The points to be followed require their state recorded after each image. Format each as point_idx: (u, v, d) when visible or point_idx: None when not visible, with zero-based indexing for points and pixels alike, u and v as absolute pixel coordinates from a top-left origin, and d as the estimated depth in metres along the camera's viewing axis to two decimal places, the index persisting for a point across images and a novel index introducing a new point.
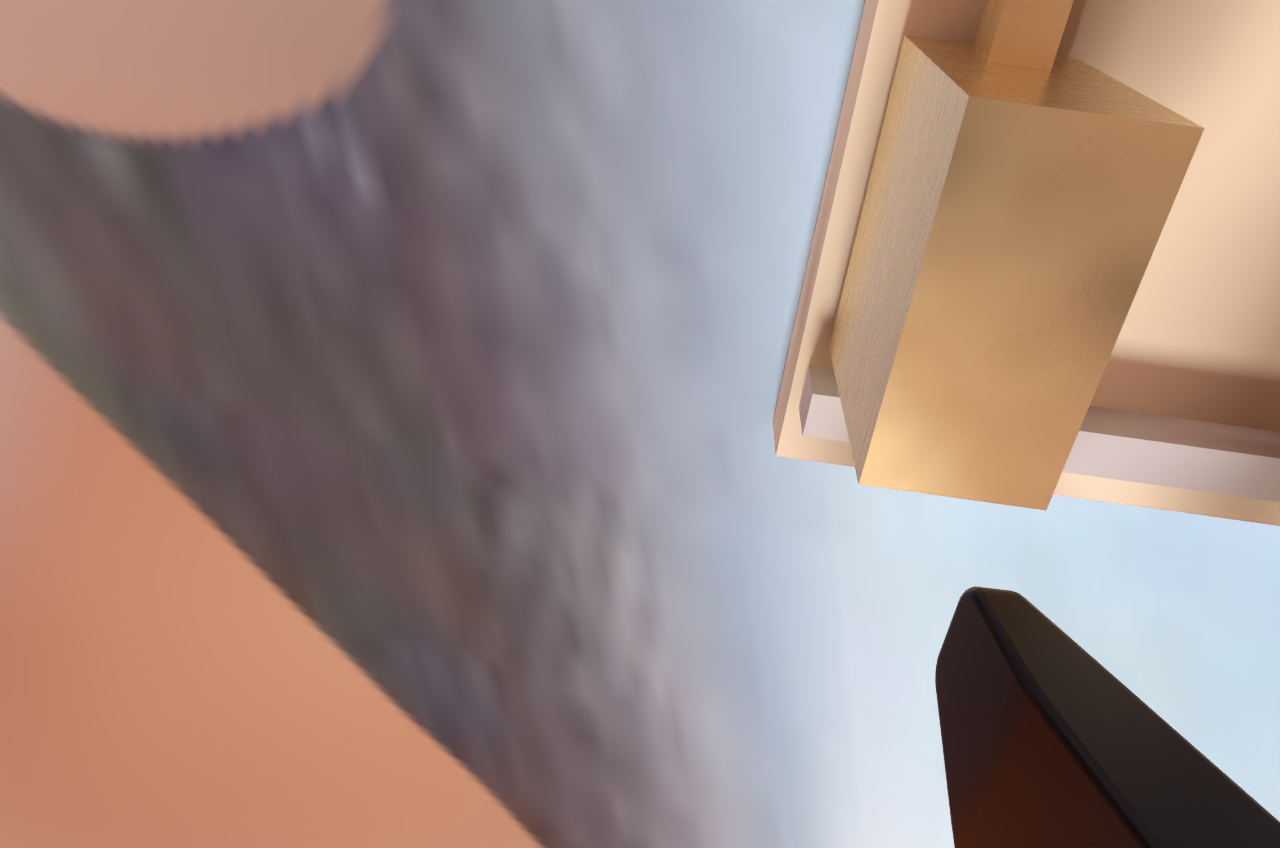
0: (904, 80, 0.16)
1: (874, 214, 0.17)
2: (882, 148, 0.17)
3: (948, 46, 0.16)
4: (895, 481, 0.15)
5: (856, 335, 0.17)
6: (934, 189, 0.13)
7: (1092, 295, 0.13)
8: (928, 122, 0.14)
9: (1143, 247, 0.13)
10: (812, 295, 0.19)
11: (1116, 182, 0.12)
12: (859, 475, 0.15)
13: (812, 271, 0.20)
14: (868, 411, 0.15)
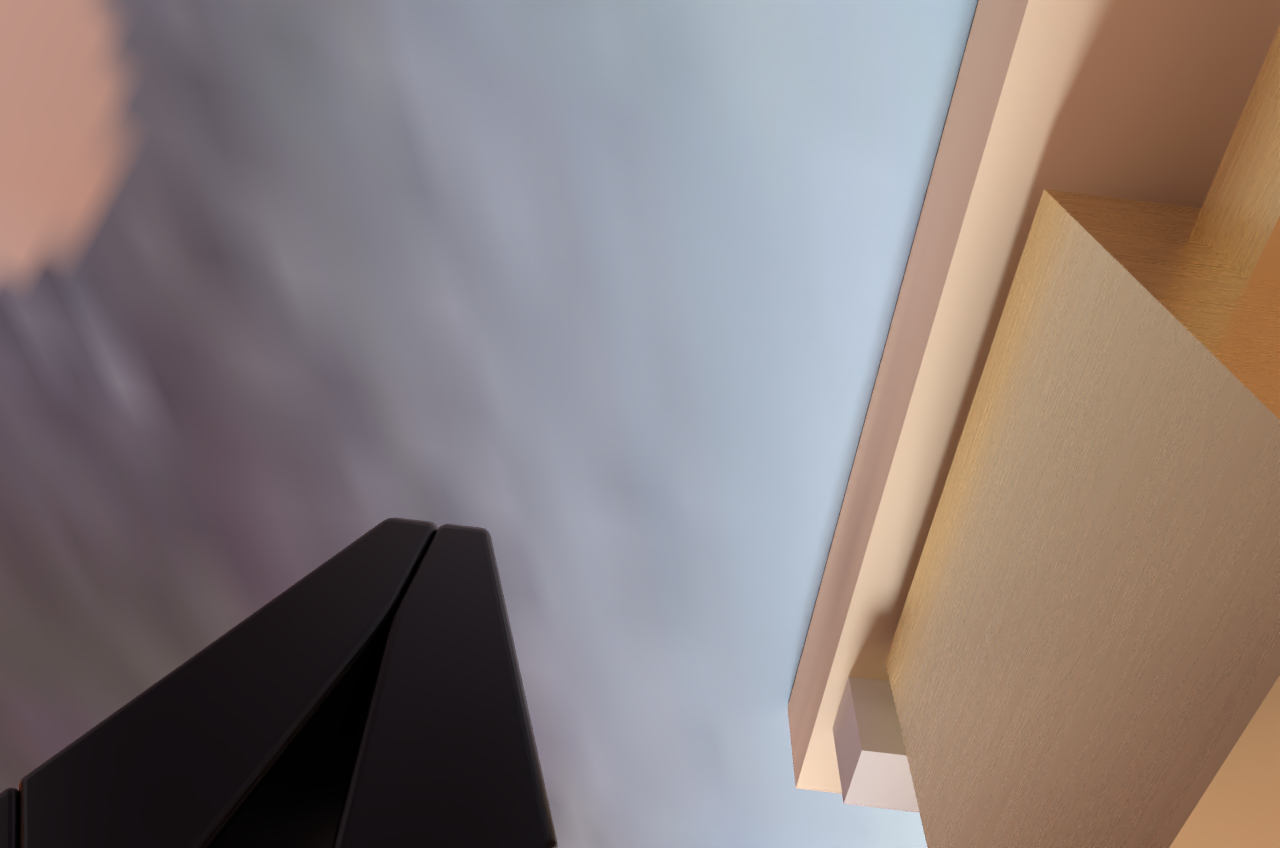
0: (1054, 287, 0.08)
1: (986, 513, 0.09)
2: (997, 388, 0.09)
3: (1139, 220, 0.08)
4: None
5: (955, 731, 0.09)
6: (1217, 661, 0.05)
7: None
8: (1162, 449, 0.06)
9: None
10: (857, 579, 0.12)
11: None
12: None
13: (855, 531, 0.12)
14: None
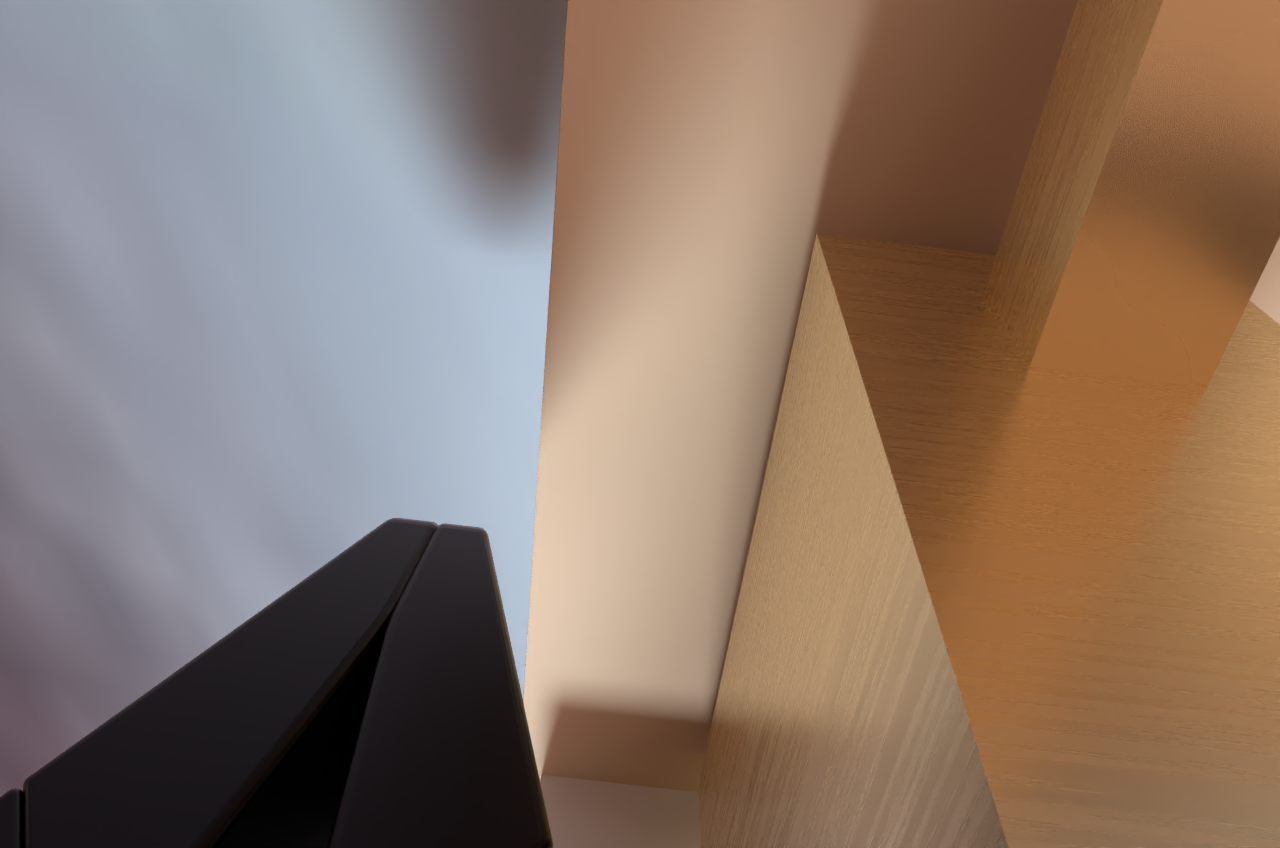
0: (813, 362, 0.06)
1: (758, 637, 0.07)
2: (775, 479, 0.07)
3: (922, 277, 0.06)
4: None
5: None
6: None
7: None
8: (861, 630, 0.04)
9: None
10: (527, 667, 0.10)
11: None
12: None
13: None
14: None
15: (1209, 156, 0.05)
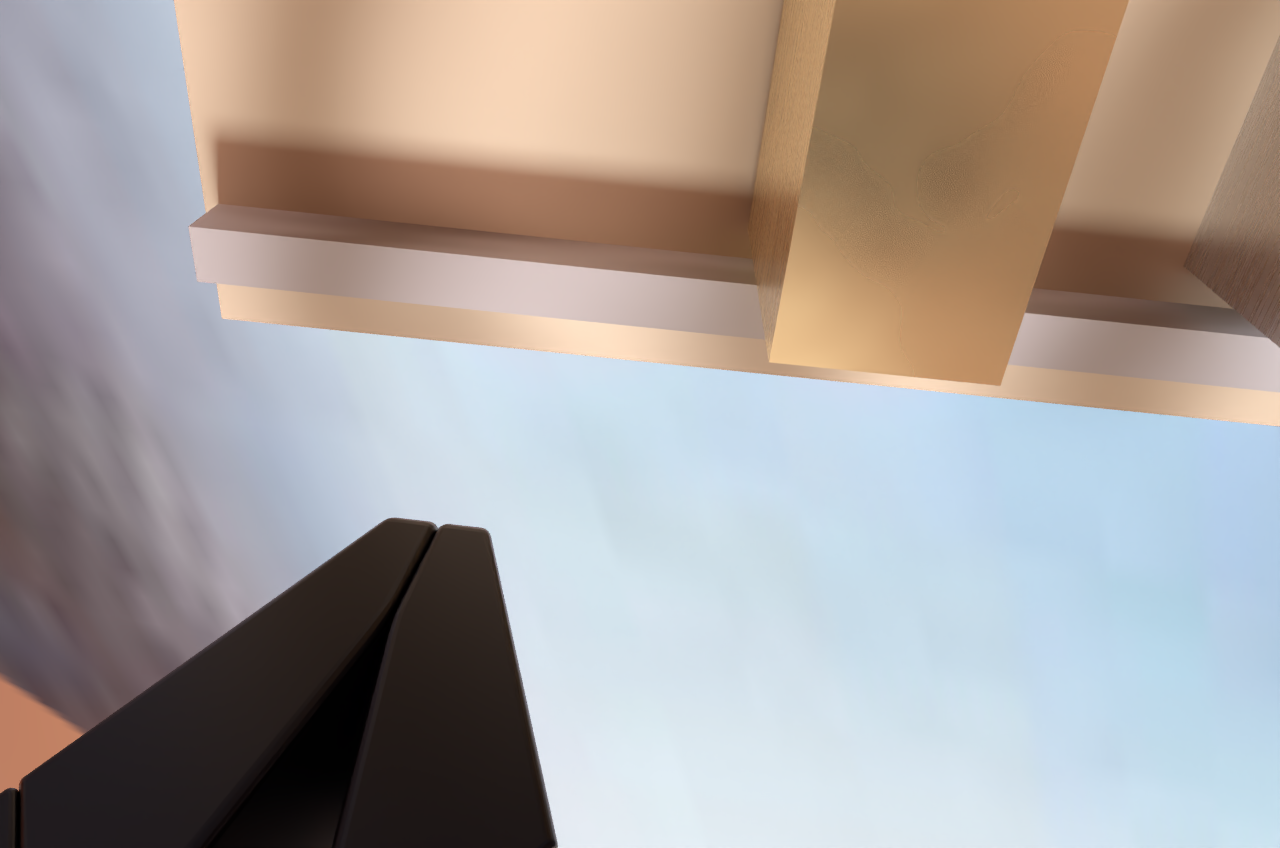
0: None
1: (785, 45, 0.14)
2: None
3: None
4: (813, 356, 0.12)
5: (769, 194, 0.14)
6: None
7: (1045, 91, 0.10)
8: None
9: (1107, 19, 0.10)
10: (192, 111, 0.16)
11: None
12: (769, 351, 0.12)
13: None
14: (778, 271, 0.12)
15: None
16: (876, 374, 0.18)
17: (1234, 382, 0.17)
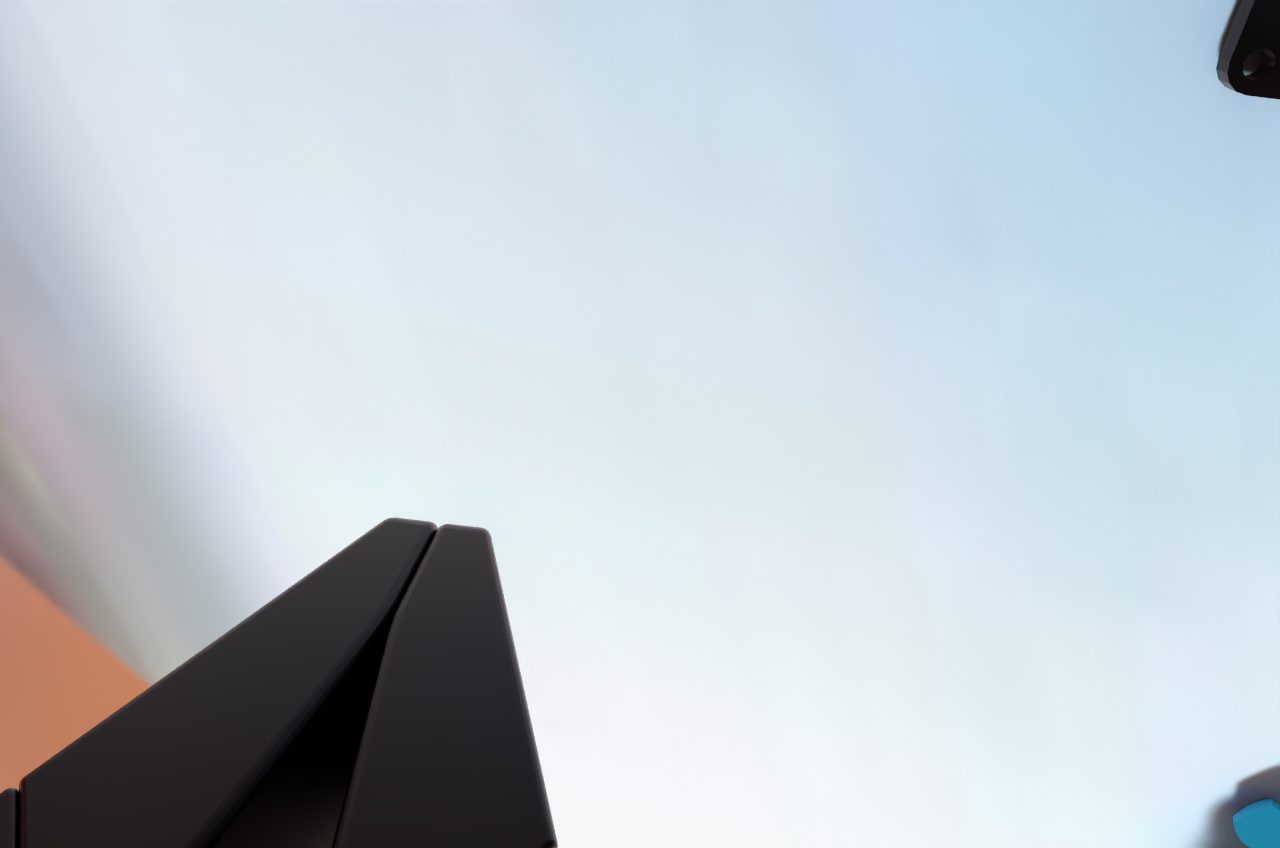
0: None
1: None
2: None
3: None
4: None
5: None
6: None
7: None
8: None
9: None
10: None
11: None
12: None
13: None
14: None
15: None
16: None
17: None
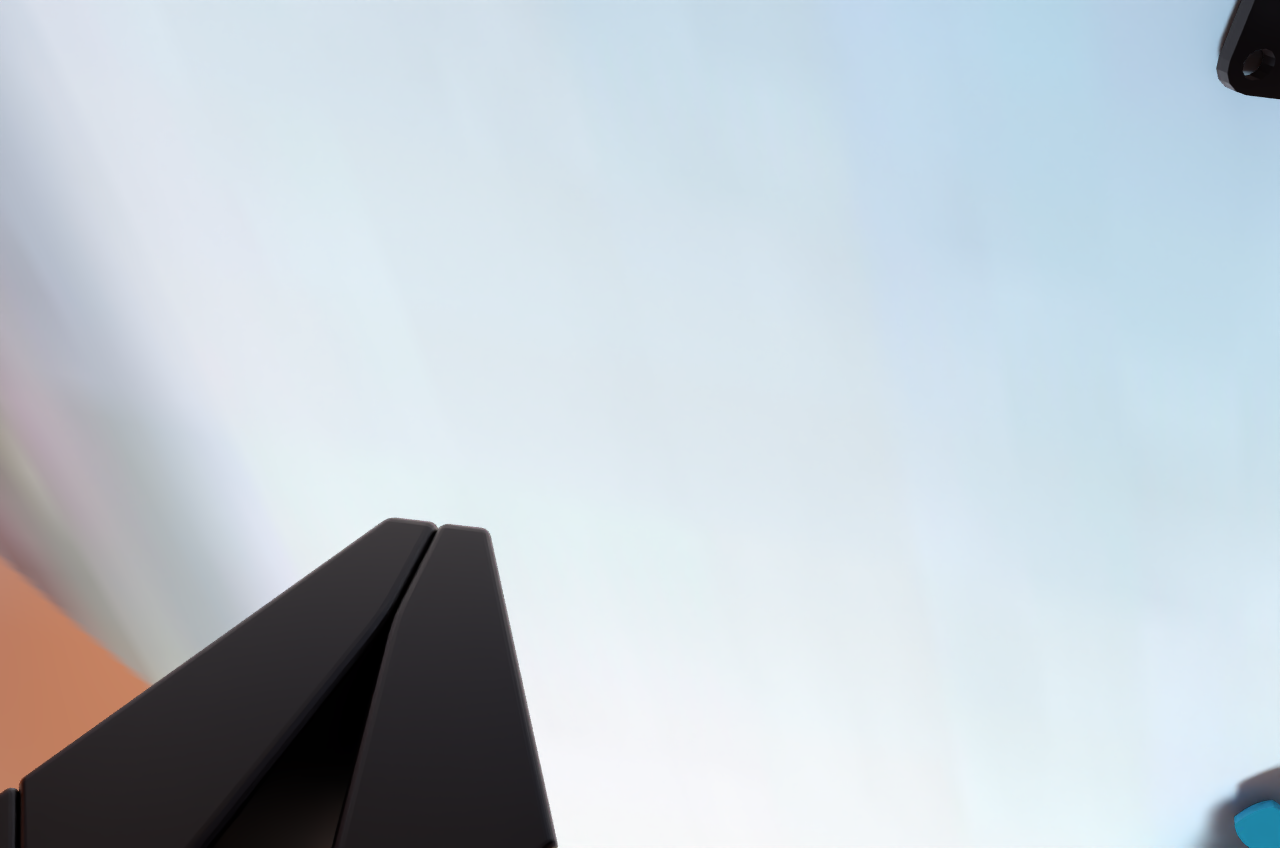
0: None
1: None
2: None
3: None
4: None
5: None
6: None
7: None
8: None
9: None
10: None
11: None
12: None
13: None
14: None
15: None
16: None
17: None
